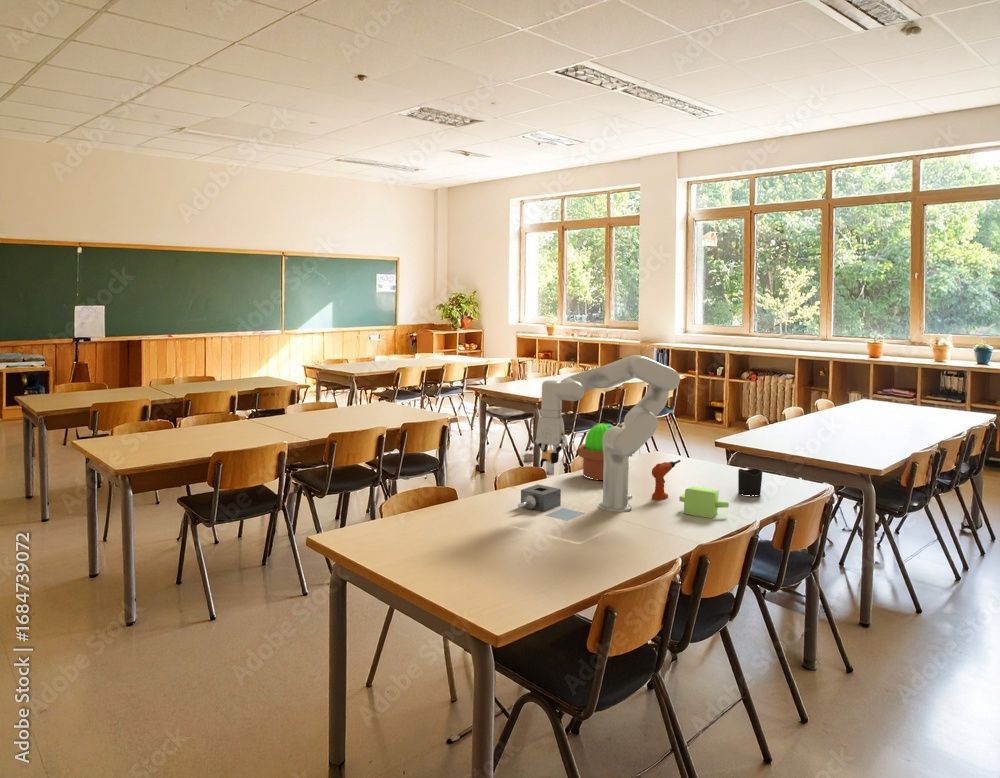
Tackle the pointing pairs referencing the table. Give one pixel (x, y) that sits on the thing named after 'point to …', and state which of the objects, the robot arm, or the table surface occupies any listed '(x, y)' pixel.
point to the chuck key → (548, 461)
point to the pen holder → (749, 481)
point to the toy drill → (661, 478)
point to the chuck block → (540, 497)
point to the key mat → (565, 514)
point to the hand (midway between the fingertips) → (550, 461)
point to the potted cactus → (593, 452)
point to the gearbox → (702, 502)
